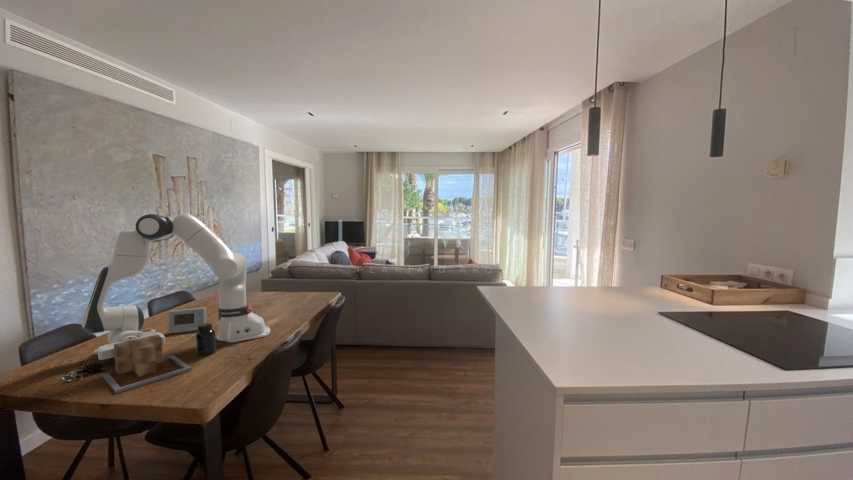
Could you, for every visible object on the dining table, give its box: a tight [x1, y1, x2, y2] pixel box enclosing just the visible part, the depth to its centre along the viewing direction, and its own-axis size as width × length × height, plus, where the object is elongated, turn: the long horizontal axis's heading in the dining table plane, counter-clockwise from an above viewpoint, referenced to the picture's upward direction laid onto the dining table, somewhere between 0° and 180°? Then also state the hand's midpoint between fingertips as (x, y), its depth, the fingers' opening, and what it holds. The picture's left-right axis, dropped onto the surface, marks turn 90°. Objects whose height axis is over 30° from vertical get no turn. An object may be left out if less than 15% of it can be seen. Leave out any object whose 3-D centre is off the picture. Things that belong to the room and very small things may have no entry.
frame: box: [102, 354, 192, 394], centre depth 124 cm, size 21×18×1 cm
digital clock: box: [166, 307, 207, 335], centre depth 170 cm, size 16×9×11 cm, turn 102°
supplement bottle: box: [195, 322, 217, 357], centre depth 142 cm, size 7×7×12 cm
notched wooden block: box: [114, 335, 164, 377], centre depth 127 cm, size 13×12×10 cm
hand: (137, 350), depth 131 cm, fingers closed, pressing on notched wooden block
